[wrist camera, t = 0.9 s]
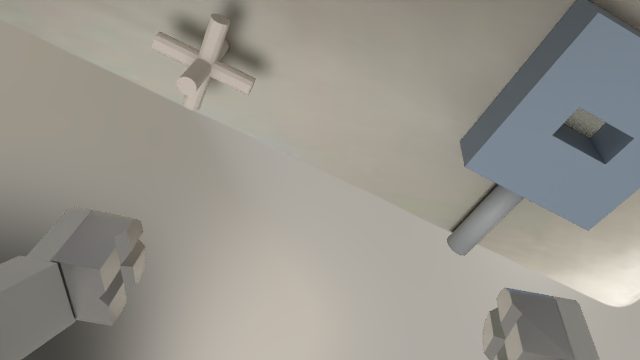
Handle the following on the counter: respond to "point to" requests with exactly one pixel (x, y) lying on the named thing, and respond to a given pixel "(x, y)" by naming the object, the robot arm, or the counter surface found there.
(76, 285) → the robot arm
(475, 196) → the counter surface
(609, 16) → the blue holed block
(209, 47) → the pipe connector
